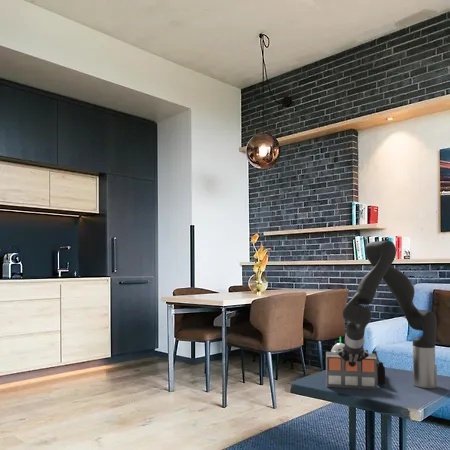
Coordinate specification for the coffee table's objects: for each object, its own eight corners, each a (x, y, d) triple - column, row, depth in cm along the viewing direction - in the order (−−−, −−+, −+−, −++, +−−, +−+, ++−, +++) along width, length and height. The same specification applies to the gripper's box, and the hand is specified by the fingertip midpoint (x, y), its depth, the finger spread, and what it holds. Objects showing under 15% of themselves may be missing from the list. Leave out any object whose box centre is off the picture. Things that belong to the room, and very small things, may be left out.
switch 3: (372, 369, 213) (372, 358, 214) (374, 372, 208) (374, 360, 209) (361, 369, 214) (361, 357, 214) (362, 371, 209) (362, 359, 210)
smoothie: (348, 379, 226) (348, 335, 228) (351, 384, 218) (351, 338, 219) (330, 379, 227) (330, 335, 228) (332, 383, 219) (332, 338, 220)
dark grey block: (374, 386, 215) (374, 353, 216) (376, 389, 208) (376, 356, 210) (326, 383, 218) (325, 351, 219) (326, 387, 212) (326, 354, 213)
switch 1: (340, 368, 216) (340, 356, 216) (340, 370, 211) (340, 358, 211) (328, 367, 216) (328, 356, 217) (329, 370, 211) (328, 358, 212)
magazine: (386, 368, 210) (377, 337, 239) (378, 367, 211) (370, 337, 240) (385, 404, 214) (376, 369, 243) (377, 403, 214) (370, 369, 243)
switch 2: (356, 368, 214) (356, 357, 215) (357, 371, 210) (357, 359, 210) (344, 368, 215) (344, 356, 216) (345, 370, 210) (345, 359, 211)
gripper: (370, 333, 200) (367, 358, 211) (337, 332, 202) (335, 356, 213) (372, 348, 195) (368, 373, 206) (338, 347, 197) (336, 371, 208)
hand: (351, 364), depth 210 cm, fingers closed
